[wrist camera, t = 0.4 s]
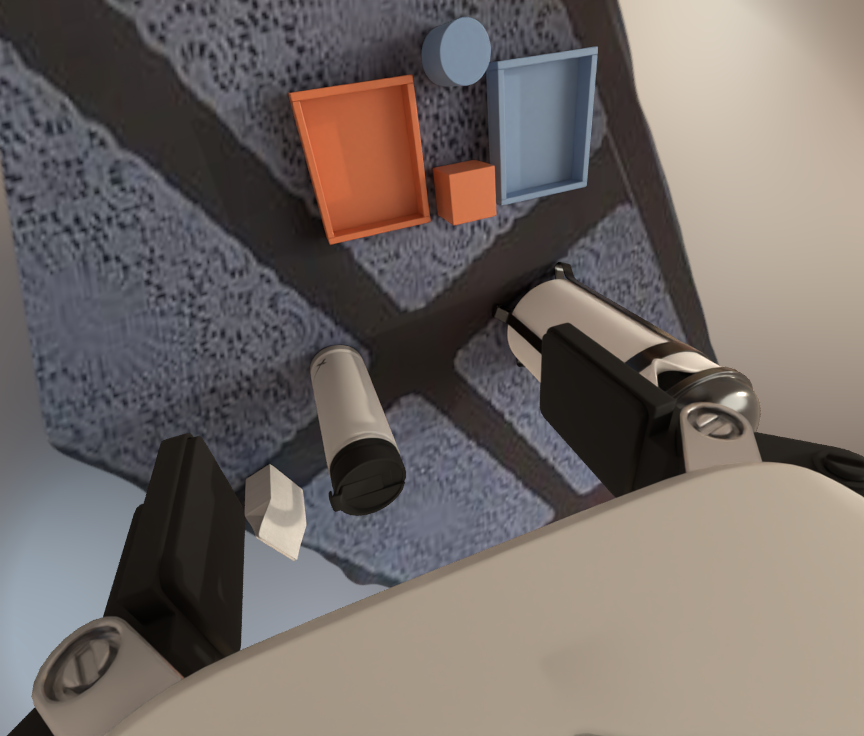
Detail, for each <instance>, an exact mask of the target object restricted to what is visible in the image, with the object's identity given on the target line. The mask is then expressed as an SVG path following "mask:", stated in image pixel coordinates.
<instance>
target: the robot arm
mask: <svg viewBox="0 0 864 736" xmlns="http://www.w3.org/2000/svg"><path fill="white" fill-rule="evenodd" d="M675 404H676V400H675V399H674V398H672V397H671V396H670V395H668V394H667V393H666V392H664V391H663V390H661V389H660V388H659V387H657V386H656V385H655V384H653V383H652V382H650V381H649V380H648V379H646V378H645V377H644V376H642V375H641V374H639V373H638V372H637V371H635V370H634V369H633V368H631V367H630V366H628V365H627V364H626V363H624V362H623V361H622V360H620V359H619V358H617V357H616V356H615V355H613V354H612V353H611V352H609V351H608V350H606V349H605V348H604V347H602V346H601V345H600V344H598V343H597V342H595V341H594V340H593V339H591V338H590V337H589V336H587V335H586V334H584V333H583V332H582V331H580V330H579V329H578V328H576V327H575V326H573V325H572V324H570V323H563V324H559V325H556V326H553V327H550V328H548V330H547V332H546V334H544V335H543V337H542V356H541V383H540V410H541V413H542V415H543V416H544V418H545V419H546V420H547V421H548V422H549V423H550V425H551V426H552V427H553V428H554V429H555V430H556V431H557V432H558V434H559V435H560V436H561V437H562V438H563V439H564V440H565V441H566V443H567V444H568V445H569V446H570V447H571V448H572V449H573V450H574V452H575V453H576V454H577V455H578V456H579V457H580V458H581V459H582V461H583V462H584V463H585V464H586V465H587V466H588V467H589V468H590V470H591V471H592V472H593V473H594V474H595V475H596V476H597V477H598V479H599V480H600V481H601V482H602V483H603V484H604V485H605V486H606V488H607V489H608V490H609V491H610V492H611V493H612V494H613V495H614V496H615V497H616V498H615V499H612V500H610V501H607V502H605V503H602V504H600V505H597V506H595V507H592V508H590V509H587V510H584V511H582V512H579V513H577V514H574V515H572V516H569V517H567V518H564V519H562V520H559V521H557V522H554V523H551V524H549V525H546V526H544V527H541V528H539V529H536V530H534V531H531V532H529V533H526V534H524V535H521V536H519V537H516V538H514V539H511V540H509V541H506V542H504V543H501V544H499V545H496V546H494V547H491V548H489V549H486V550H484V551H481V552H479V553H476V554H474V555H471V556H469V557H466V558H464V559H461V560H459V561H456V562H454V563H451V564H449V565H446V566H444V567H441V568H439V569H436V570H434V571H431V572H429V573H426V574H424V575H421V576H419V577H416V578H414V579H411V580H409V581H406V582H404V583H401V584H399V585H397V586H394V587H392V588H389V589H387V590H384V591H382V592H379V593H377V594H374V595H372V596H369V597H367V598H365V599H362V600H360V601H357V602H355V603H352V604H350V605H347V606H345V607H342V608H340V609H337V610H335V611H333V612H330V613H328V614H325V615H323V616H320V617H318V618H315V619H313V620H311V621H308V622H306V623H304V624H301V625H299V626H297V627H294V628H292V629H289V630H288V631H285V632H283V633H280V634H278V635H275V636H273V637H271V638H268V639H266V640H263V641H262V642H259V643H256V644H254V645H252V646H250V647H247V648H245V649H242V650H240V648H241V629H242V628H241V627H242V599H243V566H244V538H245V513H244V509H243V507H242V505H241V503H240V501H239V499H238V498H237V496H236V494H235V493H234V491H233V489H232V487H231V486H230V484H229V482H228V481H227V479H226V477H225V476H224V474H223V472H222V470H221V469H220V467H219V465H218V464H217V462H216V460H215V459H214V457H213V455H212V454H211V452H210V450H209V448H208V447H207V445H206V443H205V442H204V440H203V439H202V437H200V436H197V437H193V436H192V435H191V434H190V433H186V434H183V435H179V436H176V437H173V438H169V439H166V440H163V441H162V442H161V444H160V448H159V451H158V455H157V458H156V462H155V466H154V469H153V473H152V476H151V480H150V483H149V487H148V490H147V494H146V497H145V501H144V504H141V505H139V507H137V508H136V511H135V513H134V515H133V519H132V522H131V525H130V529H129V532H128V535H127V539H126V542H125V545H124V549H123V552H122V555H121V559H120V562H119V565H118V569H117V572H116V575H115V579H114V582H113V585H112V589H111V592H110V596H109V599H108V602H107V605H106V609H105V612H104V615H103V618H100V619H96V620H93V621H91V622H89V623H87V624H85V625H83V626H82V627H80V628H78V629H77V630H76V631H74V632H73V633H72V634H70V635H69V636H68V637H66V638H65V639H64V640H63V641H62V642H61V643H60V644H59V645H58V646H57V647H56V648H55V649H54V650H53V651H52V652H51V654H50V655H49V656H48V658H47V659H46V661H45V662H44V664H43V665H42V666H41V668H40V670H39V672H38V675H37V677H36V679H35V681H34V685H33V691H32V699H33V702H34V706H35V708H34V709H33V710H32V711H31V712H30V713H29V714H28V715H27V716H26V717H25V718H24V719H23V720H22V721H21V722H20V723H19V724H18V725H17V726H16V727H15V728H14V729H13V730H12V731H11V732H10V733H9V734H8V735H7V736H864V457H863V456H861V455H859V454H856V453H853V452H851V451H849V450H845V449H841V448H837V447H833V446H827V445H822V444H817V443H811V442H806V441H801V440H795V439H790V438H785V437H778V436H774V435H768V434H763V433H758V432H753V430H752V427H751V425H750V423H749V421H748V420H747V419H746V418H745V417H744V416H743V415H742V414H740V413H738V412H737V411H735V410H733V409H731V408H729V407H726V406H723V405H720V404H715V403H709V402H698V403H692V404H690V405H687V406H685V407H684V408H683V409H680V408H679V407H678V406H676V405H675Z"/></svg>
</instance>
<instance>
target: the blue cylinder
mask: <svg viewBox="0 0 864 736" xmlns="http://www.w3.org/2000/svg"><path fill="white" fill-rule="evenodd" d="M490 54H491V48H490V40H489V37H488V34H487V32H486V30H485V28H484V27H483V26H482V25H481V24H480V23H479V22H478V21H477V20H475V19H473V18H470V17H461V18H458V19H456V20H453V21H450V22H448V23H445V24H443V25H440V26H437V27H435V28H434V29H432V30H431V31H430V32H429V33H428V35H427V36H426V38H425V40H424V43H423V46H422V52H421V59H422V65H423V69H424V71H425V73H426V75H427V77H428V78H429V79H430V80H431V81H432V82H433V83H435V84H436V85H439V86H443V87H447V86H467V85H471V84H473V83H475V82H477V81H478V80H479V79H480V78H481V77H482V76H483V74H484V73H485V71H486V69H487V67H488V64H489V60H490Z"/></svg>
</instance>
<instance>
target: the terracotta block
mask: <svg viewBox="0 0 864 736" xmlns="http://www.w3.org/2000/svg"><path fill="white" fill-rule="evenodd" d="M433 177H434V185H435V194H436V203H437V212H438V215H439V216H440V217H442V218H443V219H445V220H446V221H448V222H449V223H451V224H452V225H458V224H462V223H466V222H471V221H475V220H479V219H484V218H488V217H492V216H496V191H495V166H494V165H491V164H488V163H484V162H481V161H478V160H470V161H465V162H460V163H455V164H450V165H445V166H440V167H435V168H433Z"/></svg>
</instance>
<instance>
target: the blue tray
mask: <svg viewBox="0 0 864 736" xmlns="http://www.w3.org/2000/svg"><path fill="white" fill-rule="evenodd" d="M597 52H598V47H597V46H596V47H589V48H582V49H576V50H569V51H563V52H556V53H549V54H543V55H536V56H530V57H523V58H516V59H510V60H503V61H496V62H490V63H489V64H488V67H487V69H486V84H487V108H488V133H489V158H490V164H491V165H494V166H495V191H496V203H497V204H499V205H501V206H502V205H507V204H511V203H516V202H520V201H524V200H529V199H533V198H538V197H542V196H546V195H551V194H555V193H560V192H564V191H568V190H573V189H577V188H582V187H586V186H587V174H588V162H589V150H590V138H591V126H592V114H593V101H594V89H595V77H596V65H597Z"/></svg>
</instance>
